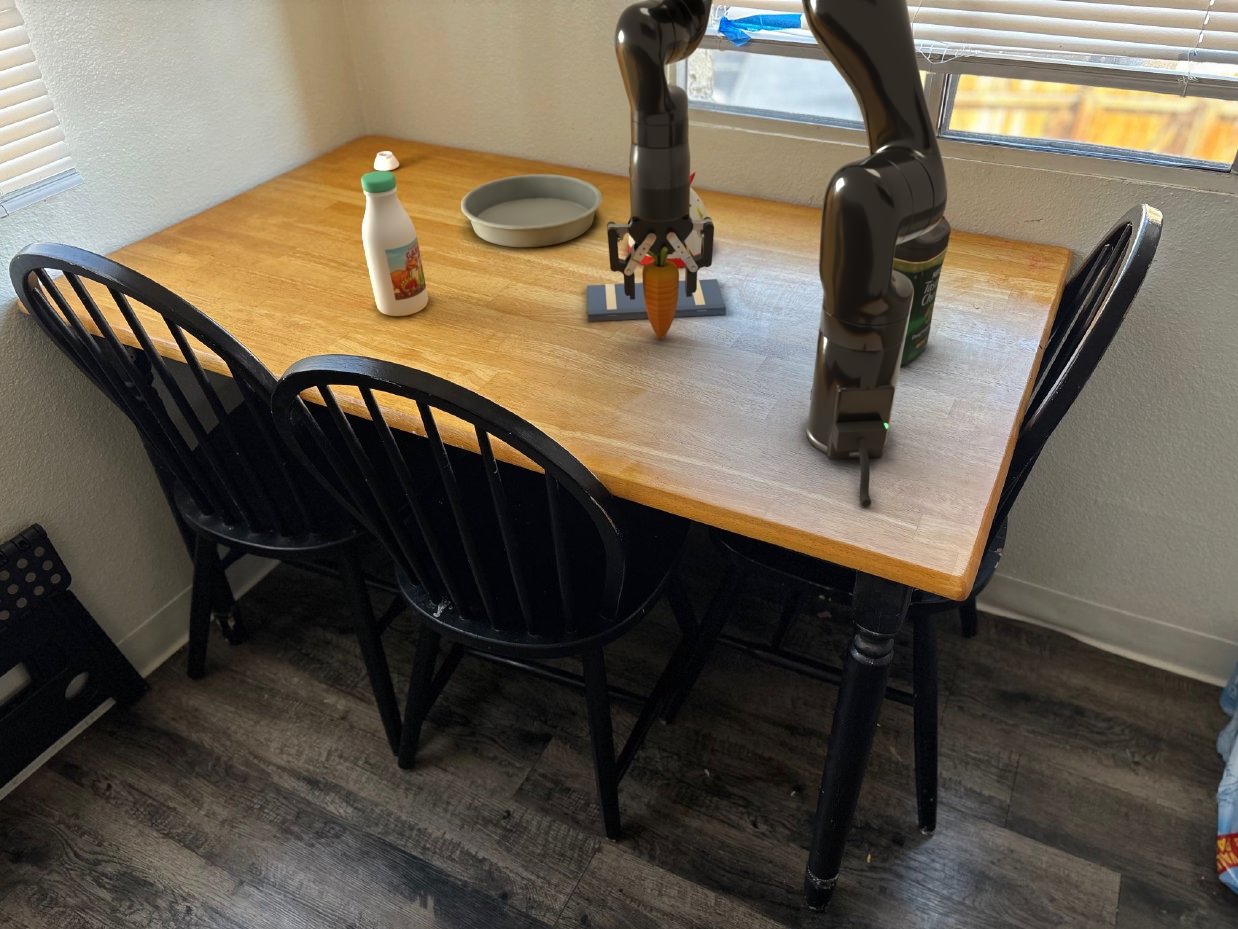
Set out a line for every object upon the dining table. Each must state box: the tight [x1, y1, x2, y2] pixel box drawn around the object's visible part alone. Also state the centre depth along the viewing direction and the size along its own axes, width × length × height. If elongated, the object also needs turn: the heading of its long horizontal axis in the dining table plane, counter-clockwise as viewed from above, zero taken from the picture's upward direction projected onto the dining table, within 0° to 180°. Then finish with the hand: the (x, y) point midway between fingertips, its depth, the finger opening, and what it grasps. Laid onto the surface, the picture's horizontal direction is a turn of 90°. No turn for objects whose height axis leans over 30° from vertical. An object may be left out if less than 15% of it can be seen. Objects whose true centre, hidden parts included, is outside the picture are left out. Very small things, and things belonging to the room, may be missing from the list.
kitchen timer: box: [628, 171, 709, 269], centre depth 145 cm, size 14×14×15 cm
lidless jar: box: [373, 150, 400, 172], centre depth 184 cm, size 5×3×5 cm
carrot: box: [641, 247, 680, 340], centre depth 122 cm, size 5×5×15 cm
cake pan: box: [460, 173, 603, 248], centre depth 158 cm, size 25×25×4 cm
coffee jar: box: [893, 215, 952, 365], centre depth 116 cm, size 10×8×19 cm
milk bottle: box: [360, 170, 429, 317], centre depth 130 cm, size 8×8×20 cm
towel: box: [586, 278, 727, 322], centre depth 134 cm, size 10×20×1 cm, turn 93°
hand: (660, 295), depth 122 cm, fingers open, 7 cm apart
